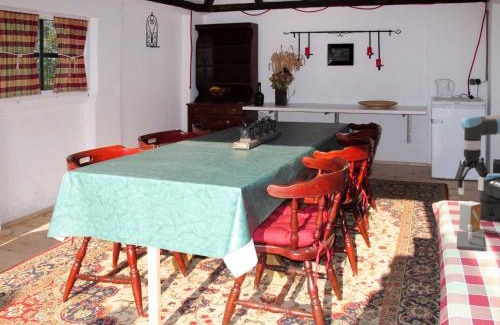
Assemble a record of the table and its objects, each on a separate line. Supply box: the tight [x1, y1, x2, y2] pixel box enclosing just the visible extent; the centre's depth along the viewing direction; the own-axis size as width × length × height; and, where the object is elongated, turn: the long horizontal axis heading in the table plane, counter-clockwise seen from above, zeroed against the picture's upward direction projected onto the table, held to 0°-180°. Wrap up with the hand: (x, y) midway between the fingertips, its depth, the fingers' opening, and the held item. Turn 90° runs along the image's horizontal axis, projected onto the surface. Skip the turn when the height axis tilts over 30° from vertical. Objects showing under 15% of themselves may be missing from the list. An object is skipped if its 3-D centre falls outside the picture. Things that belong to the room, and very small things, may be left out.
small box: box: [458, 200, 481, 232], centre depth 268 cm, size 8×6×13 cm
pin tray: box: [456, 225, 485, 252], centre depth 250 cm, size 22×11×6 cm, turn 159°
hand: (471, 192), depth 265 cm, fingers open, 13 cm apart
